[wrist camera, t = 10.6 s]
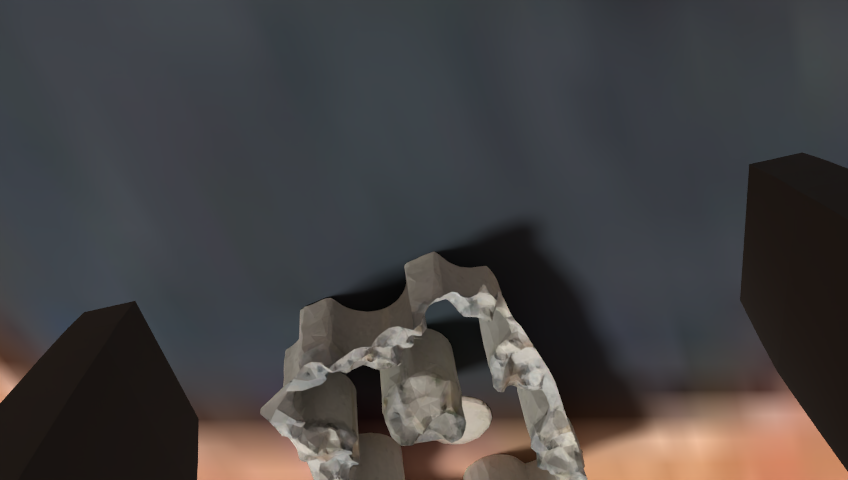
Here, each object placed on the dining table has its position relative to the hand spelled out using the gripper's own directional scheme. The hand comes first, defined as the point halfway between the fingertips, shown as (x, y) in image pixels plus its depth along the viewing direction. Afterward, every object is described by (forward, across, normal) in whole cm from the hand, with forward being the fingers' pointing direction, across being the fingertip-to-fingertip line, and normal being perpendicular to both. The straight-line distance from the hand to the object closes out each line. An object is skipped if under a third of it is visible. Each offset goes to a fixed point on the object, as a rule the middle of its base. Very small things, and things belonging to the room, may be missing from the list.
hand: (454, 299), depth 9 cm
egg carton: (+11, +1, +12) cm, 17 cm away
